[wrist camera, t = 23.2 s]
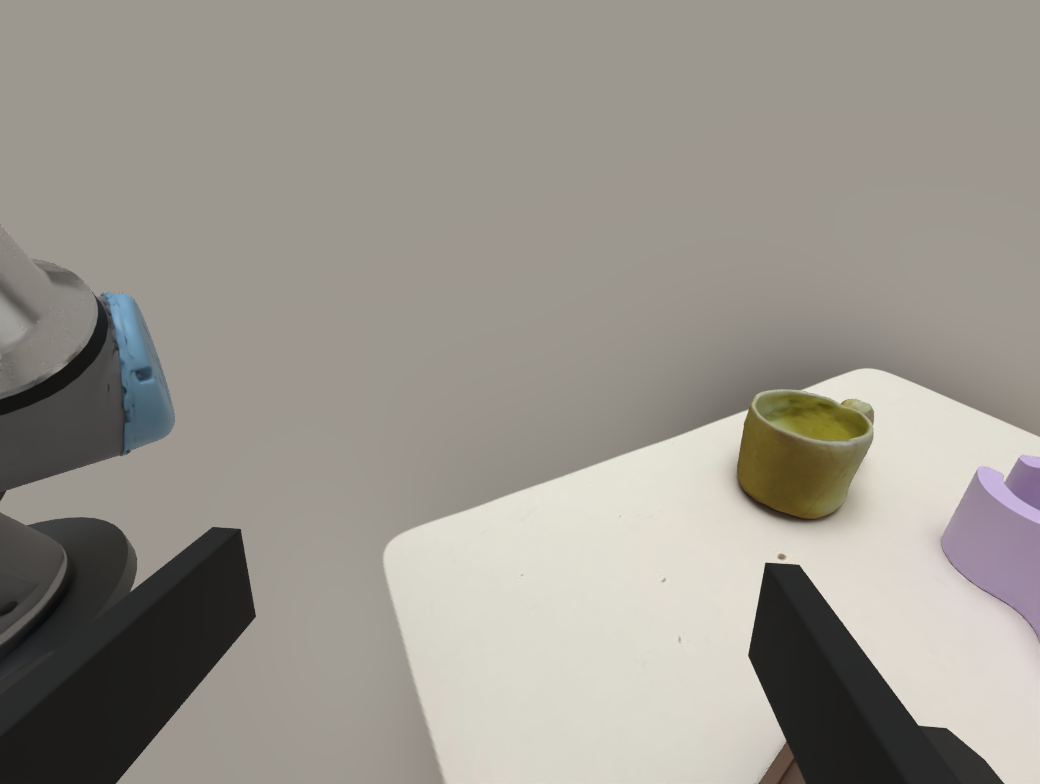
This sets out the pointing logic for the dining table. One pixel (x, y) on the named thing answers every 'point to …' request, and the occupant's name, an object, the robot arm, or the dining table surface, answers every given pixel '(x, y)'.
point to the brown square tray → (783, 769)
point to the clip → (1001, 536)
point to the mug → (803, 450)
